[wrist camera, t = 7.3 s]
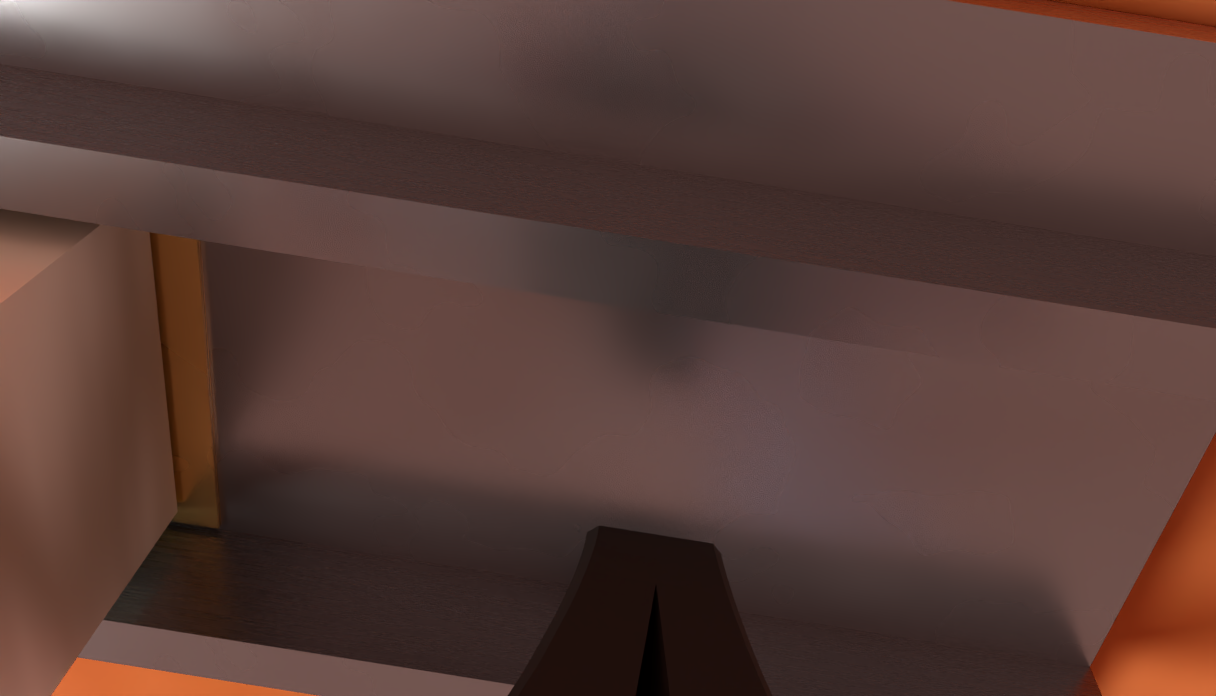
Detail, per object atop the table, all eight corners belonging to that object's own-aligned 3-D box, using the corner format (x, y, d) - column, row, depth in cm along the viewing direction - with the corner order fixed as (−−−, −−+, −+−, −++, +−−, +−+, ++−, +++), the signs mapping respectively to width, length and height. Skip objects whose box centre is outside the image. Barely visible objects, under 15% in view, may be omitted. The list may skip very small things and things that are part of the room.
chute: (1003, 747, 18) (1055, 918, 15) (-148, 565, 18) (-294, 705, 15) (1355, 48, 12) (1545, 135, 9) (-403, -230, 12) (-719, -222, 9)
